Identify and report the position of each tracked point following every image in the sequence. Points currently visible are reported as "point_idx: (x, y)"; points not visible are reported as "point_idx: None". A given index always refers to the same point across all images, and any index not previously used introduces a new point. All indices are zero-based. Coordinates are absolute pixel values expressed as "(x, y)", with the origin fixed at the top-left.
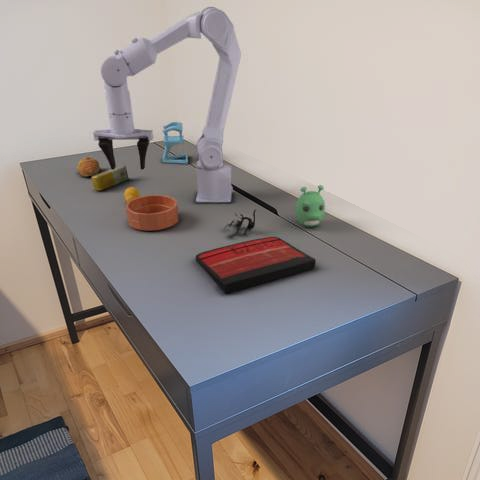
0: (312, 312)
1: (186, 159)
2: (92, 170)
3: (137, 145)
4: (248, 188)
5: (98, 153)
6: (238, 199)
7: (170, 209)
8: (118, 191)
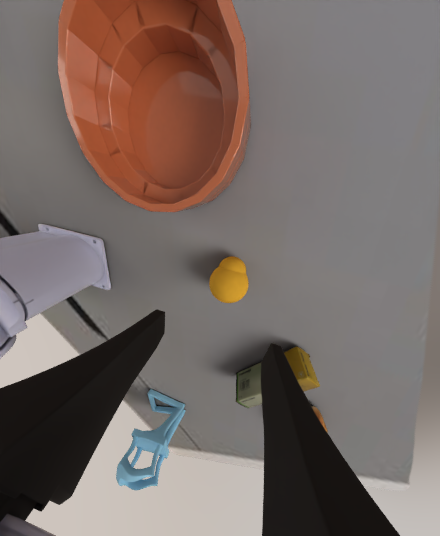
0: None
1: (149, 397)
2: None
3: (16, 438)
4: None
5: None
6: None
7: (63, 16)
8: (259, 336)
